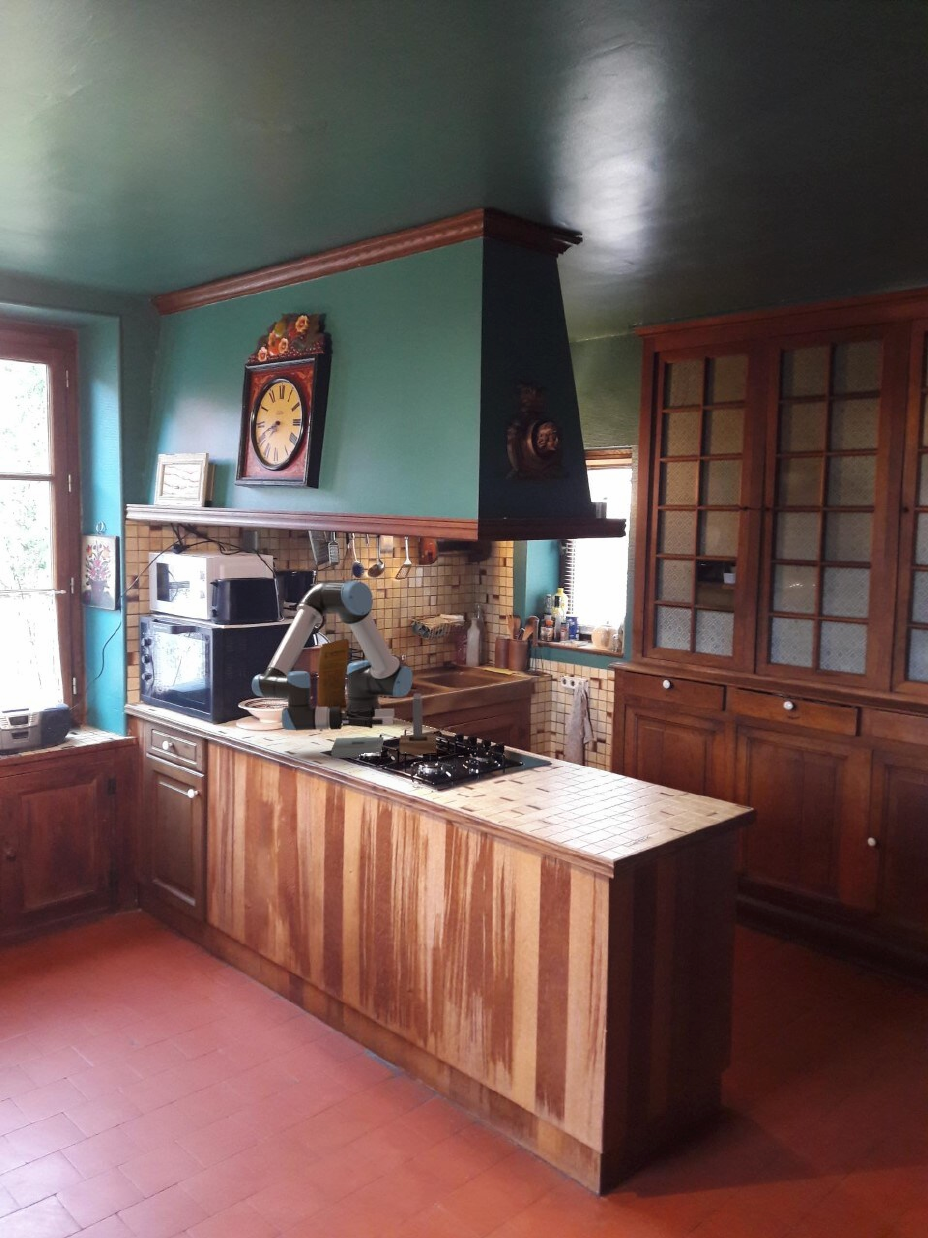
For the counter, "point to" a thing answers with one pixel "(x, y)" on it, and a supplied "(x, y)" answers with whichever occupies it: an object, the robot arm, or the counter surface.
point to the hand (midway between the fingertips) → (393, 716)
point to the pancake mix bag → (332, 673)
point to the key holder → (418, 744)
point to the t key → (417, 718)
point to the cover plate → (356, 746)
